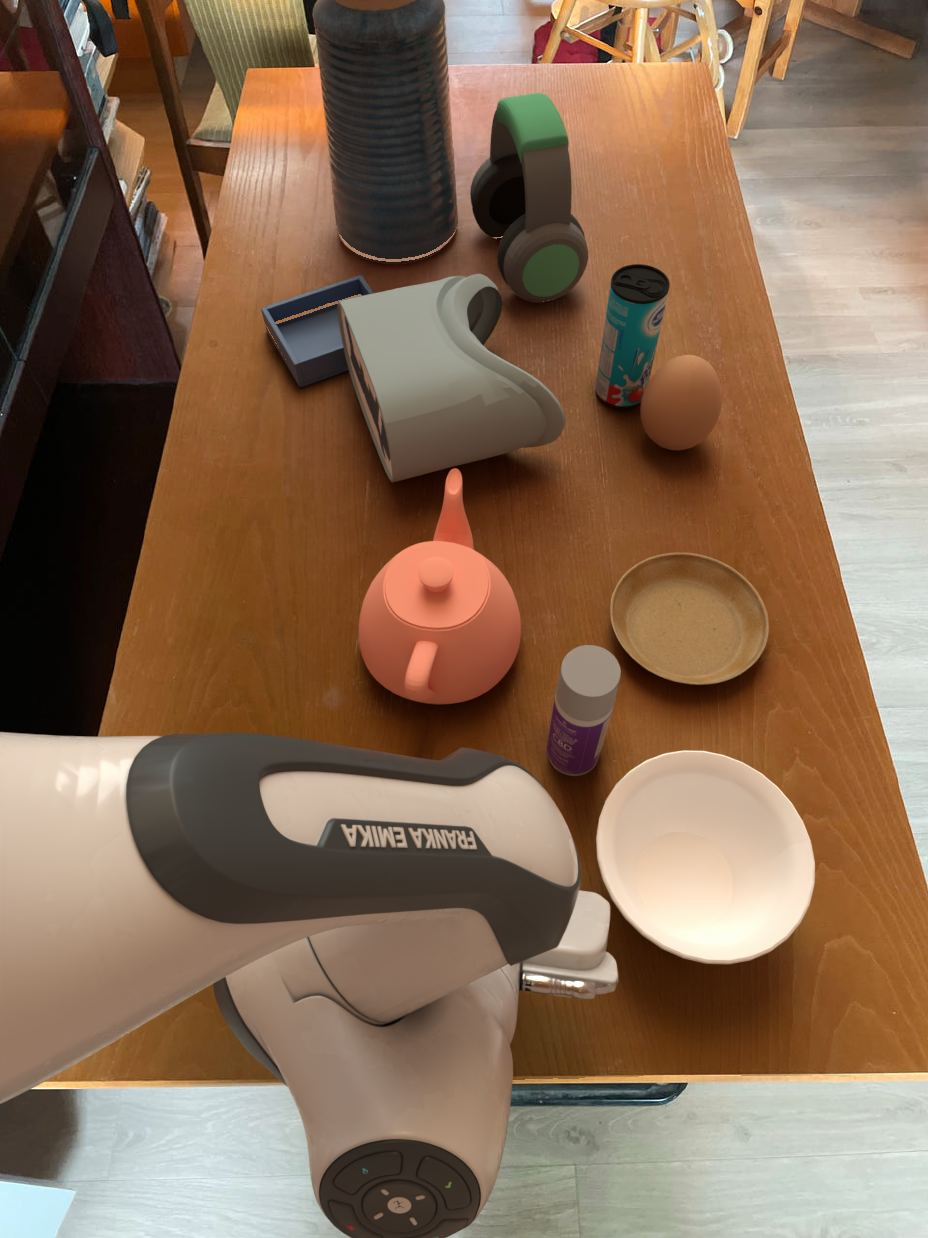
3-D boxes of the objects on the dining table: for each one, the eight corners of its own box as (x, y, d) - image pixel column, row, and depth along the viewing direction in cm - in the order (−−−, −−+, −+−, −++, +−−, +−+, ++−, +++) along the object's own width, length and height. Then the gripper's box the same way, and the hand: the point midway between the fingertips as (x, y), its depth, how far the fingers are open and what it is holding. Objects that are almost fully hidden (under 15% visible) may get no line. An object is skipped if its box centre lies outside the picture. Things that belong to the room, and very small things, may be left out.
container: (540, 768, 77) (552, 689, 65) (553, 721, 80) (567, 636, 67) (592, 782, 76) (615, 705, 64) (604, 735, 79) (628, 652, 66)
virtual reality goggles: (346, 371, 104) (331, 278, 93) (497, 335, 107) (499, 241, 96) (397, 507, 93) (386, 420, 82) (563, 463, 96) (574, 373, 85)
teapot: (388, 538, 91) (377, 456, 81) (533, 555, 90) (540, 474, 79) (340, 729, 79) (319, 663, 69) (505, 753, 78) (509, 688, 68)
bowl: (572, 795, 76) (582, 756, 69) (754, 782, 76) (783, 742, 69) (600, 993, 67) (615, 972, 60) (805, 977, 68) (844, 954, 60)
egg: (718, 426, 99) (743, 347, 89) (696, 477, 95) (721, 400, 85) (647, 405, 101) (665, 325, 91) (623, 454, 97) (639, 376, 87)
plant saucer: (581, 593, 87) (584, 578, 85) (712, 549, 90) (718, 533, 87) (650, 719, 80) (655, 706, 77) (791, 667, 82) (800, 653, 80)
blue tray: (299, 387, 103) (294, 364, 100) (266, 331, 108) (260, 307, 105) (401, 351, 106) (399, 327, 103) (364, 298, 111) (361, 274, 108)
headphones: (465, 228, 119) (463, 71, 102) (542, 214, 120) (553, 57, 103) (505, 317, 109) (511, 160, 92) (589, 301, 110) (609, 143, 94)
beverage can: (628, 418, 100) (650, 308, 87) (584, 396, 101) (599, 286, 89) (655, 389, 102) (680, 278, 89) (612, 368, 104) (630, 256, 91)
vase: (331, 202, 122) (290, -68, 96) (446, 188, 124) (438, -82, 97) (344, 275, 114) (303, 1, 87) (468, 259, 115) (465, -15, 88)
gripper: (627, 953, 51) (613, 842, 64) (284, 906, 53) (340, 807, 66) (614, 1047, 52) (603, 919, 66) (280, 998, 54) (335, 883, 67)
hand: (469, 863), depth 66 cm, fingers closed on lemon, 5 cm apart
